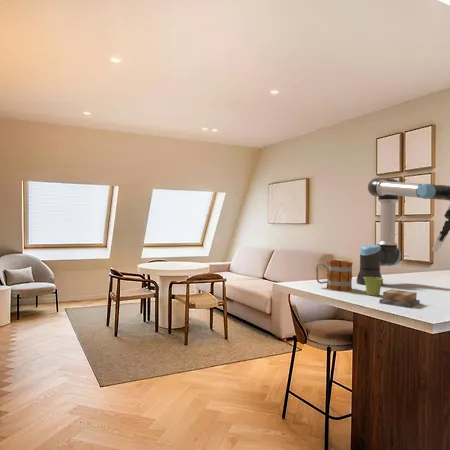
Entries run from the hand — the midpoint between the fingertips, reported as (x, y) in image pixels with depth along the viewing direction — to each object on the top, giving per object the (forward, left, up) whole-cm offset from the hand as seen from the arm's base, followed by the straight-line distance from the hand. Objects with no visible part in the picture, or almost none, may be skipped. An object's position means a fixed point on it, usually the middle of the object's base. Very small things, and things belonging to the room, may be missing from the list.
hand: (435, 249), depth 196 cm
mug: (-46, -18, -24) cm, 55 cm away
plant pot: (-23, -20, -24) cm, 39 cm away
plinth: (-6, -31, -24) cm, 40 cm away
